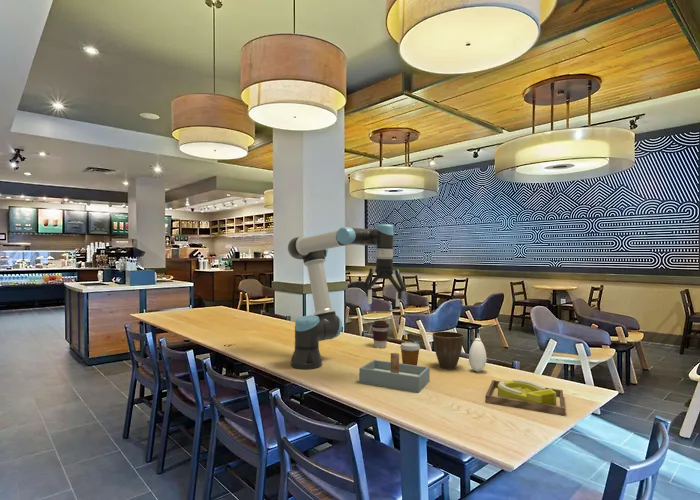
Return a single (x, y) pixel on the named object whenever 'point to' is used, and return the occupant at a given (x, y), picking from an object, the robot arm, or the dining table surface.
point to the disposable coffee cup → (410, 353)
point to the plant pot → (448, 348)
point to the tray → (395, 376)
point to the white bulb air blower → (477, 355)
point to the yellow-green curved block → (526, 392)
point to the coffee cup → (380, 333)
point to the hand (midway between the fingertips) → (383, 305)
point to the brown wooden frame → (525, 404)
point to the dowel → (395, 362)
